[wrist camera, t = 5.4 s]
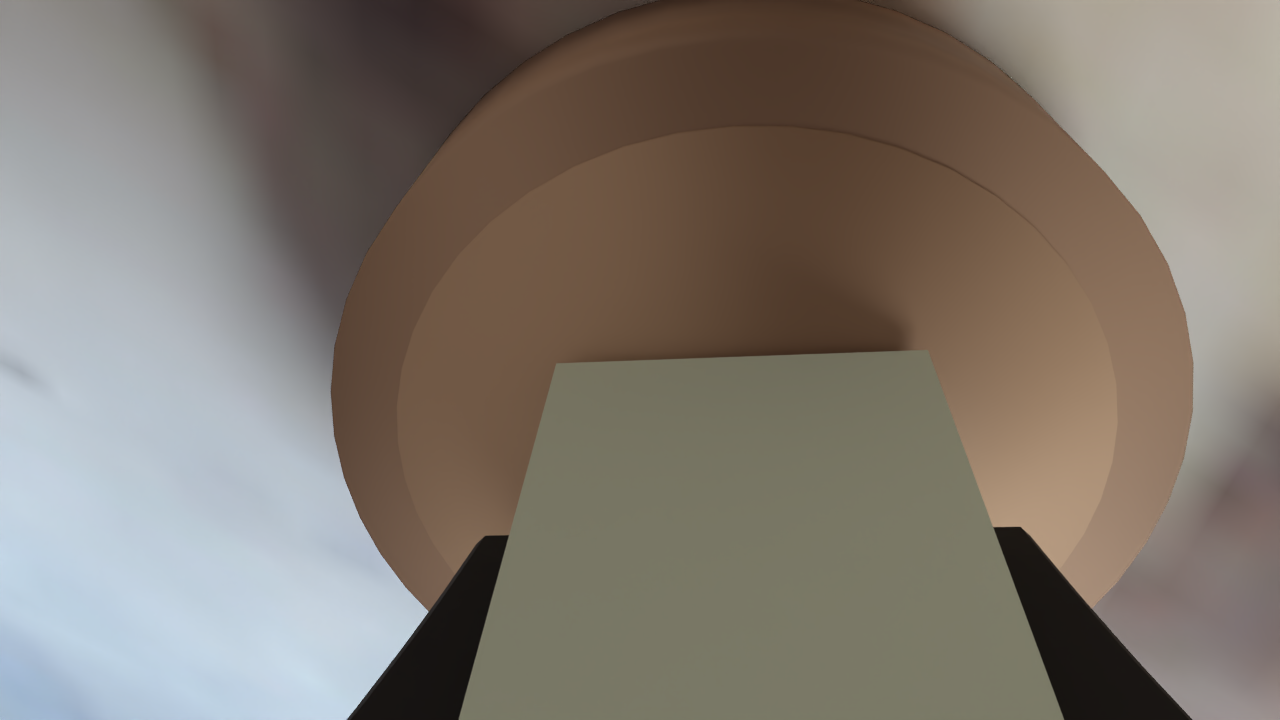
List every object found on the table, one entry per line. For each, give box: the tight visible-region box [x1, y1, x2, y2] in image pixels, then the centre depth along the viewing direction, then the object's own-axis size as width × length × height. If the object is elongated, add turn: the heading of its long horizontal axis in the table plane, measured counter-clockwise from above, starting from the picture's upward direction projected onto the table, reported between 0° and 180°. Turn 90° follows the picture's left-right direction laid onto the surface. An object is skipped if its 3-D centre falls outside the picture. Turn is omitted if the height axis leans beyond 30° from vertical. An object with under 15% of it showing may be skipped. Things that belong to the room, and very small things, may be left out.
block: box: [459, 350, 1064, 720], centre depth 9 cm, size 4×4×6 cm
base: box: [331, 0, 1193, 611], centre depth 12 cm, size 10×10×2 cm
